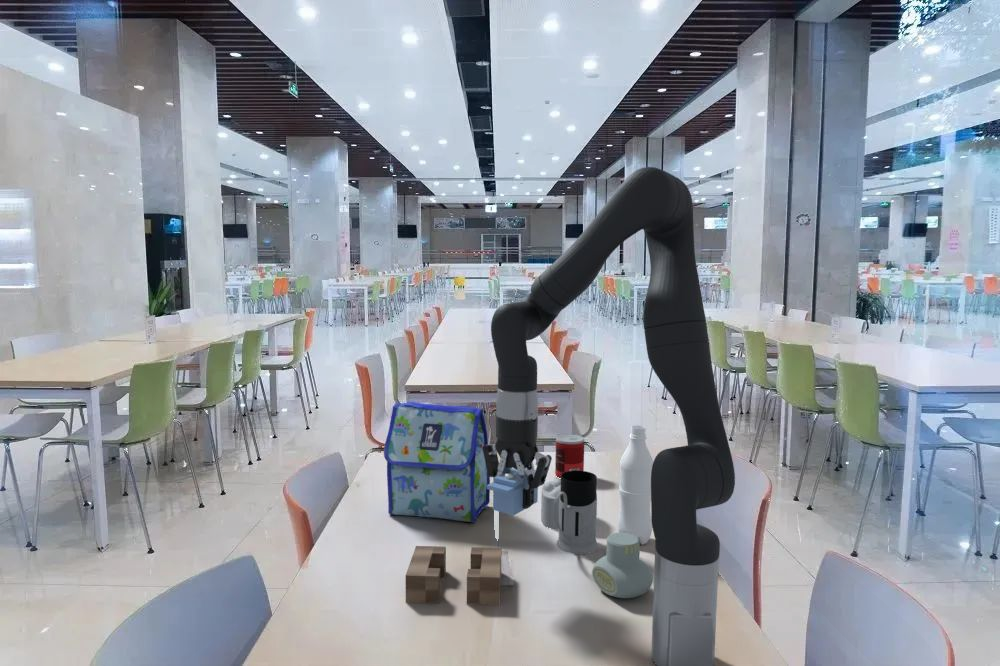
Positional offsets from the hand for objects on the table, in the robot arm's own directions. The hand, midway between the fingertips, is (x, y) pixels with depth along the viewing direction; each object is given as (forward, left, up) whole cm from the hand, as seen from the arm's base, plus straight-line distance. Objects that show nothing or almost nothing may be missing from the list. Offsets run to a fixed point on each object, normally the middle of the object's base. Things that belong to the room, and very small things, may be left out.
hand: (515, 503), depth 123 cm
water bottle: (+21, -26, -16) cm, 37 cm away
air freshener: (-1, -20, -16) cm, 25 cm away
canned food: (+62, -15, -16) cm, 66 cm away
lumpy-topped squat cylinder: (+32, -11, -16) cm, 38 cm away
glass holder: (+16, -12, -16) cm, 25 cm away
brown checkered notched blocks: (-1, +11, -16) cm, 19 cm away
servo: (0, 0, 0) cm, 0 cm away
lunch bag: (+35, +18, -16) cm, 43 cm away
